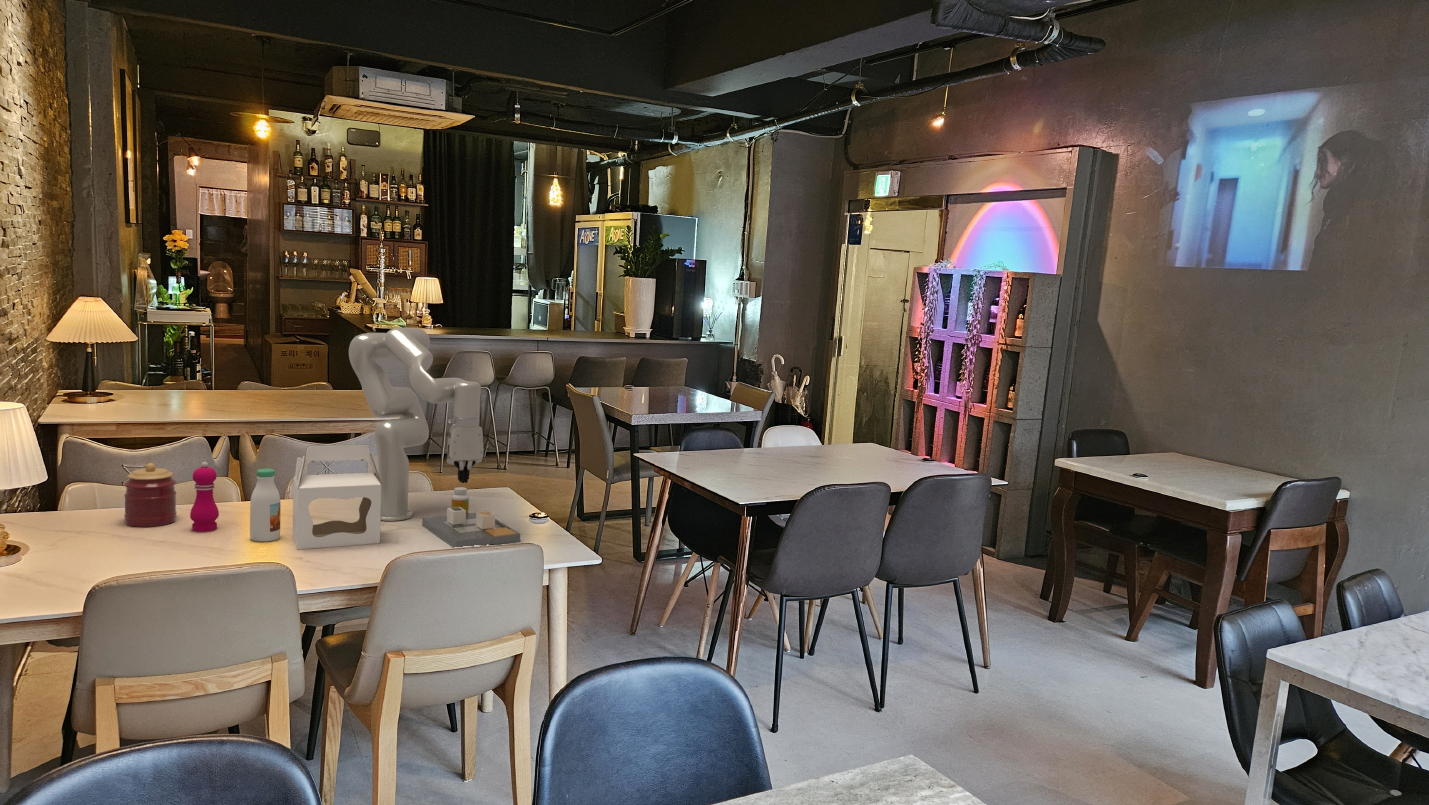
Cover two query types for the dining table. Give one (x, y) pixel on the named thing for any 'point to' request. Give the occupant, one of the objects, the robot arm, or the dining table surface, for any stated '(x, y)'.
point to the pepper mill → (204, 500)
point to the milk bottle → (265, 508)
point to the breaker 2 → (485, 520)
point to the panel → (469, 532)
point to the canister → (150, 497)
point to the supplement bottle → (460, 498)
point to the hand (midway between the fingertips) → (463, 481)
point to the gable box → (337, 488)
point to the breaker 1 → (456, 515)
